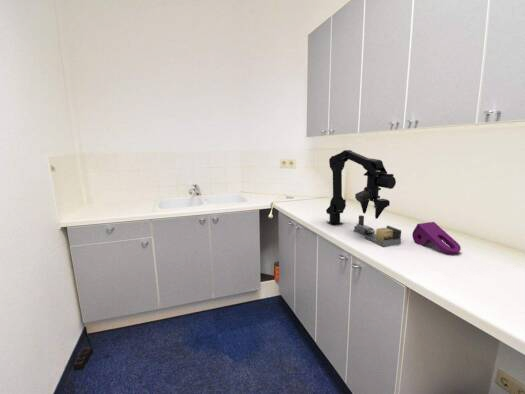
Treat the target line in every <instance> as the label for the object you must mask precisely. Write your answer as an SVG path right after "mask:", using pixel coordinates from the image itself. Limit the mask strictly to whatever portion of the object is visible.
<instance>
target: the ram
mask: <svg viewBox="0 0 525 394" xmlns="http://www.w3.org/2000/svg"><path fill="white" fill-rule="evenodd" d="M364 221H365V216H364V215H358V223H356V225H355V226H358V227H360V228H363V229H365V230H366V233H371V232H372V233H374V234H375V232H376V231H375V230H374V231H373V230H372V229H373V227H371V226H368V225H366V224H364V223H365V222H364Z"/></svg>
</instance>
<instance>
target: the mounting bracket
mask: <svg viewBox="0 0 525 394" xmlns="http://www.w3.org/2000/svg"><path fill="white" fill-rule="evenodd" d="M412 239H413V241H414V243H415V244H417V245H419V246H425V245H429V244H430V243H431V244H433V246H434V247H436V248H437V249H438V250H439V251H440V252H442V253H444V254H446V255H451V256H453V255H454V256H455V255H457V254H458V253H459V252H460V251H461V249H462V248H461V245H460V243H458V242H457V241H456V239H454V238H452V236H451V235H449V234H448V233H447V232H446V231H445V230H444V229H443V228H442V227H440V226H439V225H438V224H437V223H436V222H435V221H430V222H423V223H422V222H421V223H417V224H416V226H415V228H414V229H413V231H412Z"/></svg>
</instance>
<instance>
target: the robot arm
mask: <svg viewBox="0 0 525 394" xmlns="http://www.w3.org/2000/svg"><path fill="white" fill-rule="evenodd" d="M349 160H350V161H352V162H354V163H357V164H358V165H360V166H362V168H363V169H364V170H366V172H365V173H363V176H366V186H364V188H363V190H361V191H359V192H357V193H355V194H354V196H355V198H354V199H356V201H357V202H358V203H360V204H359V205H360V207H361V210H362V213H363V214H366V212H367V210H368V206H369V203H370V202H372V203H373V204H374V205H373V207H374V209H375V211H374V214H375V215H374V216H375V217H374V218H375V219H376V220H377V219H378V218H380V215H381V214H382V212H383V211H384V210H385V209H386V208H388V207H389V206H390V204H391V202H390V200H389V199H387V198H381V196H380V195H379V191H381V190H382V189H381V188H383V189H388V190H391V189H394V187H395V186H396V183H397V180H396V178H395V177H394V173H388V172H387V170H386V168H385V165H384V163H383V162H384V161H382V160H381V159H377V158H371V157H370V158H369V157H366V156H364V155H362V154H359V153H357V152H354V151H353V150H350V149H346V150H345V149H344V150H343V151H340V152H339V153H337V154H335V155H332V156H330V158H329V161H328V162H329V168H330V169H331V171H332V197H331V199H330V202H329V206H328V207H327V208H326V210H325V212H326V214H327V215H329V221H327V223H328V224H329V225H332V226H336V225H337V226H338V225H343V223H342V222H341V214H343V213H344V211H345V210H346V207H347V205H346V202H347V200H346V199H344V198H343V185H342V183H343V181H342V179H343V175H342V174H343V173H342V172H343V170H344V168H345V163H346V162H348V161H349Z"/></svg>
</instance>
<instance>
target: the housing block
mask: <svg viewBox="0 0 525 394" xmlns="http://www.w3.org/2000/svg"><path fill="white" fill-rule="evenodd" d="M375 230H376V231H375V232H376V234H375V235H376V239H378V240H380V241H384V240H391V239H392V236H393V231H392V230H390V229H387V227H380V228H376V229H375Z"/></svg>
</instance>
